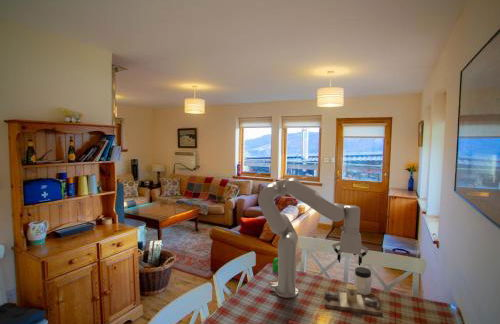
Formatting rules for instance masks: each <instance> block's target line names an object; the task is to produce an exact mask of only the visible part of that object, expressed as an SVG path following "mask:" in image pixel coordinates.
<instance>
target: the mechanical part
mask: <svg viewBox="0 0 500 324" xmlns="http://www.w3.org/2000/svg"><path fill="white" fill-rule="evenodd" d="M272 271H273V272H275V273H277V274H278V256H277V257H274V259H273V261H272Z"/></svg>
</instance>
